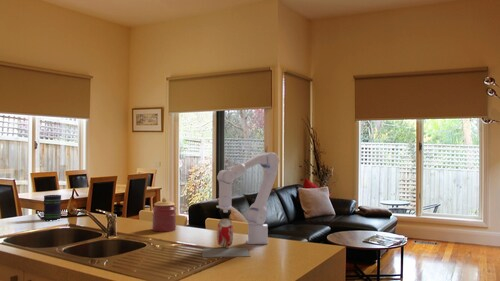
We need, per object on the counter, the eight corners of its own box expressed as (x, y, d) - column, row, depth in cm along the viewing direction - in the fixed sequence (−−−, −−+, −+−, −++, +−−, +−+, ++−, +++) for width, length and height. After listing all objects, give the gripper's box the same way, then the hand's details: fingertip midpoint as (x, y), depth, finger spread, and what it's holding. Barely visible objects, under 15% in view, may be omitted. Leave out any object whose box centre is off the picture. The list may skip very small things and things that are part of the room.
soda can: (226, 250, 188) (227, 229, 182) (214, 244, 191) (214, 223, 186) (235, 242, 193) (236, 221, 188) (223, 236, 196) (223, 215, 191)
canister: (179, 230, 230) (180, 198, 230) (157, 233, 222) (157, 199, 223) (170, 226, 240) (170, 195, 241) (148, 229, 233) (148, 197, 234)
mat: (247, 248, 189) (247, 248, 189) (250, 256, 175) (250, 255, 175) (202, 249, 187) (202, 248, 187) (202, 257, 173) (202, 256, 173)
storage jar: (39, 220, 256) (40, 196, 256) (49, 218, 265) (50, 194, 266) (54, 221, 254) (55, 196, 254) (64, 218, 264) (64, 195, 264)
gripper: (216, 194, 200) (216, 223, 200) (216, 198, 185) (216, 229, 185) (231, 194, 201) (230, 223, 200) (232, 198, 186) (232, 228, 186)
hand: (224, 226), depth 193 cm, fingers closed
